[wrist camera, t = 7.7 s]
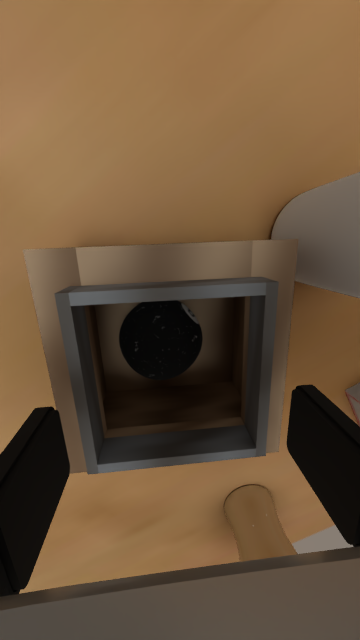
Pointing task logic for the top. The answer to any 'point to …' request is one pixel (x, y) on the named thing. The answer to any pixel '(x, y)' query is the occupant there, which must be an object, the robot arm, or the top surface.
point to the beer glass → (256, 524)
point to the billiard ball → (160, 339)
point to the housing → (185, 389)
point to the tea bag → (354, 400)
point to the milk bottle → (325, 235)
